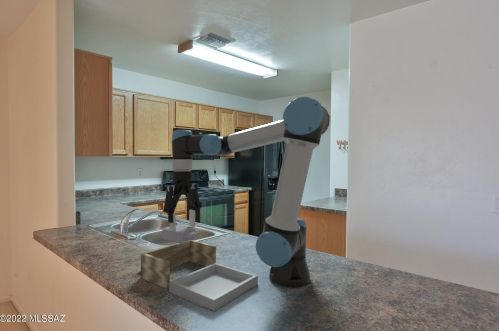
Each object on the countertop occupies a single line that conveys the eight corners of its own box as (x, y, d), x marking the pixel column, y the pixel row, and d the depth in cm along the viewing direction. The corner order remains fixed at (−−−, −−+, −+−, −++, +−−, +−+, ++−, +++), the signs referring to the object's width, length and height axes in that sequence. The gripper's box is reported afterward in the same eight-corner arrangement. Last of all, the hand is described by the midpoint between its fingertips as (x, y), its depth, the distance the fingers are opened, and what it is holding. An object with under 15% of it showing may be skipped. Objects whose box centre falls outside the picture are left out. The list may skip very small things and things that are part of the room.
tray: (257, 285, 102) (257, 275, 102) (214, 311, 84) (214, 300, 84) (215, 271, 114) (215, 262, 114) (169, 292, 96) (169, 281, 96)
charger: (190, 246, 103) (162, 240, 112) (207, 240, 111) (180, 235, 119) (189, 233, 103) (161, 228, 112) (207, 228, 111) (179, 223, 119)
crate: (215, 267, 118) (216, 245, 118) (166, 288, 99) (167, 262, 99) (190, 259, 128) (190, 239, 127) (140, 277, 108) (140, 253, 108)
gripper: (196, 169, 123) (196, 222, 123) (152, 171, 105) (152, 232, 105) (209, 169, 118) (209, 224, 119) (165, 171, 101) (165, 235, 101)
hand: (182, 228), depth 112 cm, fingers closed on charger, 9 cm apart
